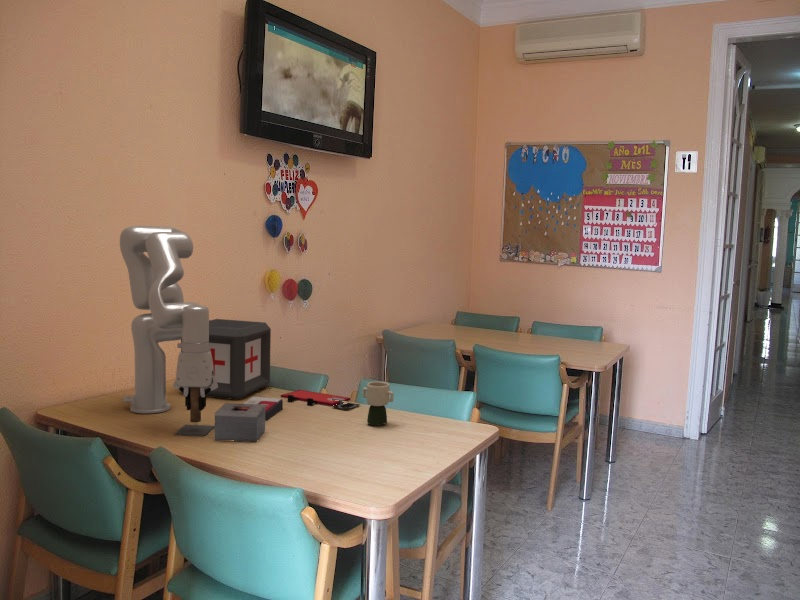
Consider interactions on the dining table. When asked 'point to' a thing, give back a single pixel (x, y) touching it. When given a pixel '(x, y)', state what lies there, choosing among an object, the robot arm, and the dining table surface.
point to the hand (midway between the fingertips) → (195, 408)
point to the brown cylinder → (195, 405)
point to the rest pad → (194, 430)
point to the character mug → (377, 401)
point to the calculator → (267, 405)
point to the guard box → (240, 422)
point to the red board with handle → (318, 399)
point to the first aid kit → (239, 357)
